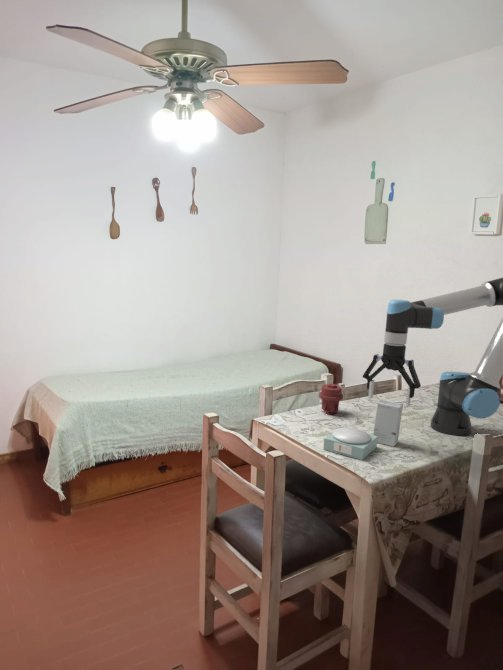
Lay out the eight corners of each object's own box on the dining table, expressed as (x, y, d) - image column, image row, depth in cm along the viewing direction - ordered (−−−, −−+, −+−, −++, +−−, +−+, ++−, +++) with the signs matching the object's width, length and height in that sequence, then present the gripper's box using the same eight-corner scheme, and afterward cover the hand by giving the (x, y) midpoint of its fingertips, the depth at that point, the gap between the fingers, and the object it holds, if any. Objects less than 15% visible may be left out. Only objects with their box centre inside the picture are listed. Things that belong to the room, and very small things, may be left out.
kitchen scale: (376, 447, 173) (377, 433, 172) (361, 460, 161) (362, 446, 160) (339, 437, 181) (340, 424, 180) (322, 449, 169) (323, 436, 168)
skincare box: (372, 442, 178) (375, 402, 175) (376, 436, 183) (380, 398, 180) (395, 447, 174) (399, 407, 171) (399, 442, 179) (403, 402, 176)
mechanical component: (316, 408, 213) (338, 409, 214) (320, 416, 203) (343, 417, 204) (318, 381, 211) (341, 381, 212) (322, 387, 201) (346, 388, 202)
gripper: (434, 347, 169) (427, 407, 172) (364, 337, 182) (359, 392, 186) (428, 350, 162) (421, 412, 166) (357, 339, 176) (351, 396, 179)
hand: (388, 402), depth 176 cm, fingers open, 13 cm apart
